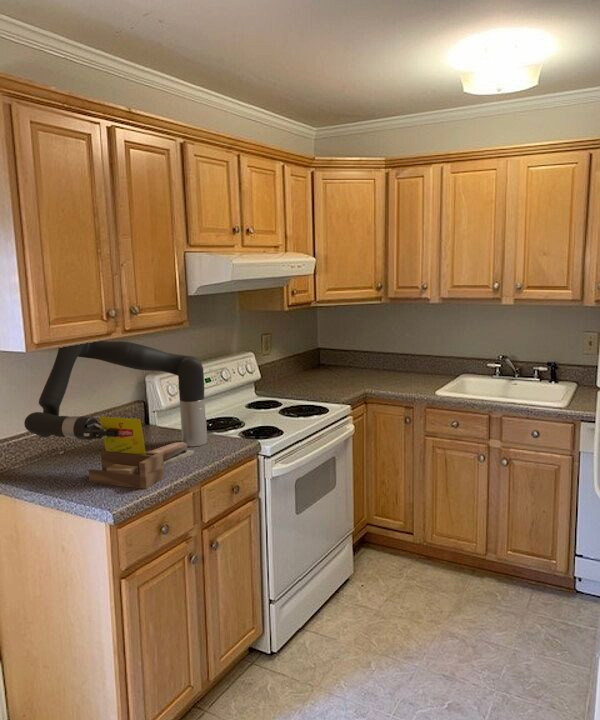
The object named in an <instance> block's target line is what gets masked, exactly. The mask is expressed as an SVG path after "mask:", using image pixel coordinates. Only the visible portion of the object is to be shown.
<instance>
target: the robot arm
mask: <svg viewBox="0 0 600 720" xmlns="http://www.w3.org/2000/svg"><path fill="white" fill-rule="evenodd" d="M78 357H79V358H86V359H92V360H98V361H102V362H106V363H108V364H109V363H110V364H113V365H118V366H122V367H125V368H129V369H133V370H137V371H138V370H140V371H149V372H163V373H167V374H172V375H174V376H178V395H179V408H180V409H179V410H180V411H179V412H180V413H179V414H180V427H181V442H184V443H186V444H187V447H200V446H203V445H206V444H207V442H208V431H207V430H208V429H207V417H206V405H205V375H204V367H203V364H202V363H201V361H200V360H199V358H197V357H195V356H192V355H182V354H176V353H170V352H166V351H163V350H159V349H158V348H157V349H156V348H154V347H150V346H146V345H143V344H139V343H135V342H130V341H121V340H120V341H115V340H114V341H109V340H101V341H99V342H93V343H86V344H80V345H75V346H69V347H63V348H59V347H58V350H57V354H56V358H55V359H54V363H53V366H52V369H51V370H50V372H49V375H48V378H47V380H46V382H45V385H44V387H43V390H42V392H41V394H40V397H39V400H38V405H39V406H40V407H41V408H42V409H43V410H42V411H35V412H32V413H30V414H28V415H27V416H26V417H25V419H24V421H23V422H24V423H23V424H24V428H25V429H26V430H27V431H28V432H30V433H32V434H34V435H36V436H39V437H41V438H49V437H50V436H54V437H59V438H69V439H72V440H82V441H83V440H85V441H93V440H97V439H99V440H100V439H102V438H103V437H118V436H119V433H118V430H113V429H108V430H107V429H105V428H104V427H103V426H101V421H98V419H96V418H95V417H94V416H93V417H92V416H82V415H81V416H79V415H72V416H70V415H60V408H61V403H62V402H63V399H64V396H65V394H66V392H67V388H68V386H69V382H70V379H71V378H70V377H71V375H72V371H73V368H74V365H75V363H76V360H77V359H78Z"/></svg>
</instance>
